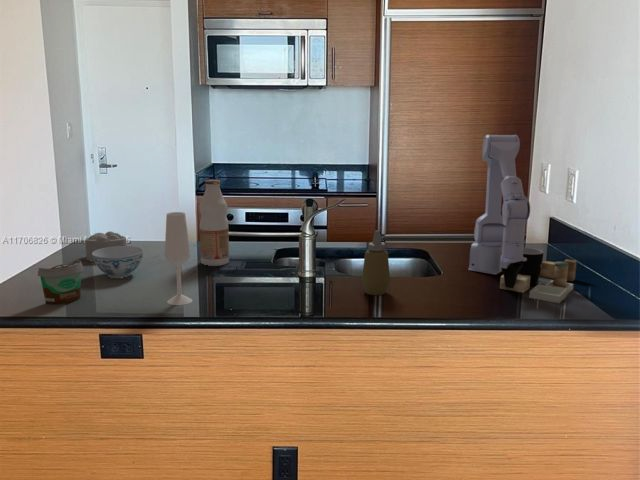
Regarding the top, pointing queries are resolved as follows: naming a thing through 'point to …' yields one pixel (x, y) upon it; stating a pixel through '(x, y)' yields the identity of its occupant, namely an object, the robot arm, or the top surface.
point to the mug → (532, 264)
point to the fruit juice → (213, 226)
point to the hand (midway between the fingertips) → (509, 287)
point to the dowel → (560, 274)
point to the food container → (62, 283)
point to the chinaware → (118, 260)
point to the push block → (517, 283)
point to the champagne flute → (177, 250)
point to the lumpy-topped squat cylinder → (103, 242)
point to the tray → (548, 293)
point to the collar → (568, 286)
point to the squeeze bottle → (376, 268)
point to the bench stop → (549, 268)
